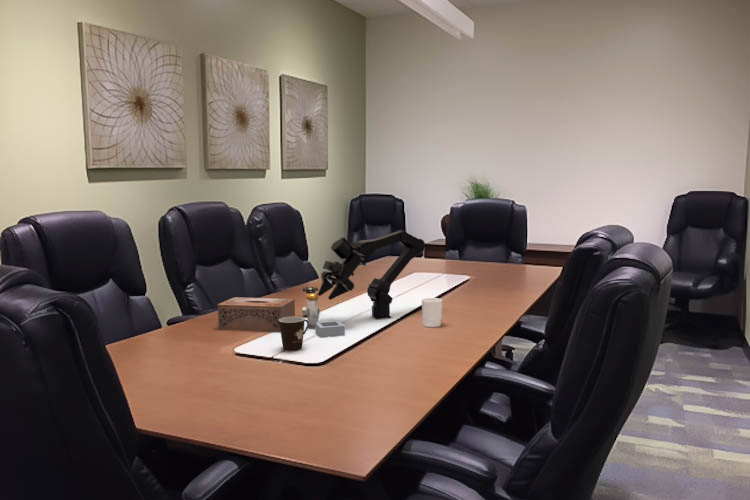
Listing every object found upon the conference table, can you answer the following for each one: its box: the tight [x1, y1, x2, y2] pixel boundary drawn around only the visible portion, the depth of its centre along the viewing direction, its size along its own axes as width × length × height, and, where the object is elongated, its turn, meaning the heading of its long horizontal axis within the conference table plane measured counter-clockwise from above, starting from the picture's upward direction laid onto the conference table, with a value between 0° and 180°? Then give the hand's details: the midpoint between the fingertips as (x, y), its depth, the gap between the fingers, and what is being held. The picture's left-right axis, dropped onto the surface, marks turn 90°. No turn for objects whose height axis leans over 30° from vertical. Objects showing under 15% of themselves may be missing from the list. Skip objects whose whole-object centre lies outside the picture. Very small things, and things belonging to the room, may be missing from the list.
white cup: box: [421, 297, 443, 328], centre depth 233 cm, size 8×8×10 cm
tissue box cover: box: [217, 296, 296, 333], centre depth 235 cm, size 26×14×10 cm, turn 77°
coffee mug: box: [279, 316, 309, 352], centre depth 204 cm, size 12×9×10 cm
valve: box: [301, 286, 320, 317], centre depth 251 cm, size 7×7×12 cm
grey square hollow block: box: [314, 319, 346, 338], centre depth 223 cm, size 9×9×4 cm
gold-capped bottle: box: [305, 292, 319, 329], centre depth 232 cm, size 5×5×13 cm
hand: (323, 297), depth 233 cm, fingers open, 9 cm apart
